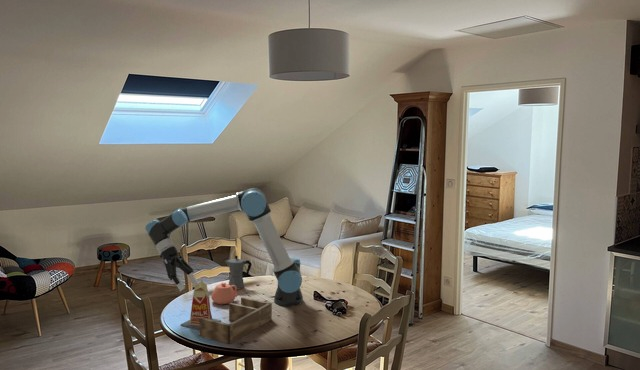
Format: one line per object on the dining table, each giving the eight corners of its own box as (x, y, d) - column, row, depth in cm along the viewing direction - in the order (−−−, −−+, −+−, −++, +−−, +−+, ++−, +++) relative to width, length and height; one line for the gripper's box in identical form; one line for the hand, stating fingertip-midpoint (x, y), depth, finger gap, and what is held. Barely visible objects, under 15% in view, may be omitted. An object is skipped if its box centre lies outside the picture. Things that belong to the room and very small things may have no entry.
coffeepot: (222, 288, 295) (222, 257, 293) (227, 283, 304) (227, 253, 302) (249, 290, 293) (249, 258, 291) (253, 285, 302) (253, 254, 300)
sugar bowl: (208, 300, 275) (208, 281, 274) (233, 296, 282) (233, 278, 281) (215, 307, 265) (215, 288, 263) (242, 303, 272) (242, 284, 270)
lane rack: (199, 336, 230) (199, 318, 229) (242, 312, 258) (242, 297, 257) (230, 344, 222) (230, 326, 221) (271, 319, 251) (271, 303, 250)
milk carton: (192, 318, 248) (192, 277, 245) (212, 318, 248) (212, 277, 246) (189, 325, 239) (188, 283, 236) (209, 326, 239) (209, 283, 237)
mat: (180, 325, 241) (180, 324, 241) (199, 316, 252) (199, 315, 252) (202, 331, 235) (202, 329, 235) (221, 321, 246) (221, 320, 246)
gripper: (174, 252, 264) (196, 288, 260) (146, 256, 239) (170, 296, 236) (185, 243, 262) (207, 279, 259) (159, 247, 238) (182, 287, 235)
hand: (189, 287), depth 247 cm, fingers open, 13 cm apart
